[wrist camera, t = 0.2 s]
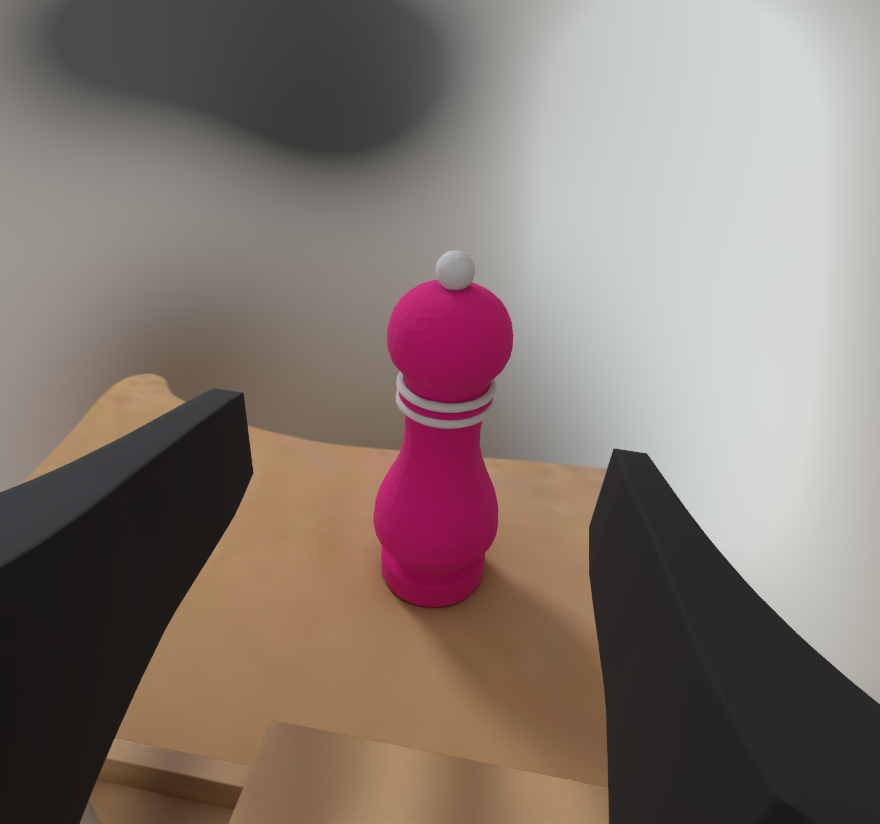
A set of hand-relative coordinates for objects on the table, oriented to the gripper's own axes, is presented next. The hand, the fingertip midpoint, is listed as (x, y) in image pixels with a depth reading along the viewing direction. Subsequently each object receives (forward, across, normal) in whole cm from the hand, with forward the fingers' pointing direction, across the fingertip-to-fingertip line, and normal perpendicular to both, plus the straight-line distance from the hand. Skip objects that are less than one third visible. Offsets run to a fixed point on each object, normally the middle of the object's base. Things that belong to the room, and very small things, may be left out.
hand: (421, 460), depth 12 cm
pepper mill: (+16, +1, +22) cm, 27 cm away
